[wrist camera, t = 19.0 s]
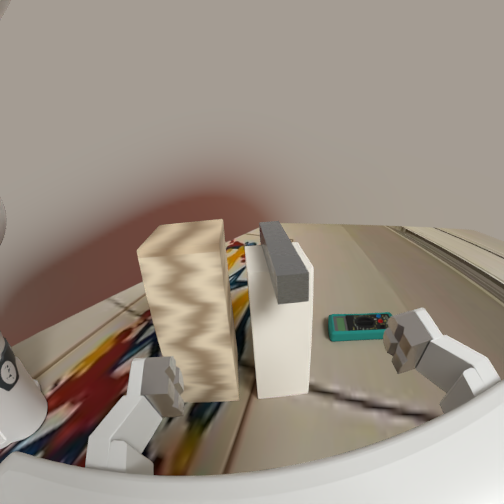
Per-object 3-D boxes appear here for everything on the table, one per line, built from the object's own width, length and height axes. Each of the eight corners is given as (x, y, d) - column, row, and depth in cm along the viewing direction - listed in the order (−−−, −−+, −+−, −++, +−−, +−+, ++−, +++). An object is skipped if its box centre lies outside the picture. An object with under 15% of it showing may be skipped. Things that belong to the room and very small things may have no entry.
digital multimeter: (399, 340, 53) (402, 328, 52) (329, 343, 55) (330, 331, 55) (391, 321, 60) (393, 310, 59) (327, 323, 62) (327, 312, 61)
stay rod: (277, 304, 28) (276, 275, 27) (260, 241, 47) (259, 222, 46) (308, 301, 28) (309, 272, 27) (279, 239, 47) (278, 221, 46)
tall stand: (177, 402, 42) (136, 250, 34) (186, 357, 54) (159, 225, 45) (239, 400, 43) (218, 243, 34) (237, 354, 54) (222, 219, 45)
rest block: (258, 398, 43) (247, 273, 35) (254, 360, 52) (244, 246, 45) (308, 393, 43) (313, 267, 36) (297, 355, 52) (297, 242, 45)
